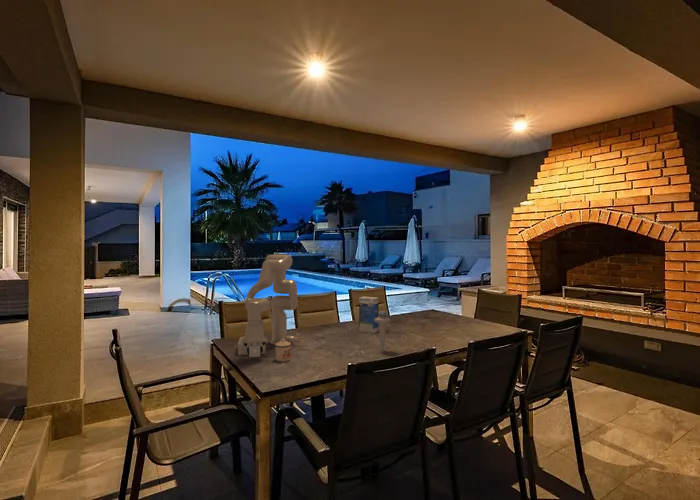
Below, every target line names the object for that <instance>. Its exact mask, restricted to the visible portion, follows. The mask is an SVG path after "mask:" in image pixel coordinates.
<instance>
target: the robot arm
mask: <svg viewBox="0 0 700 500" xmlns="http://www.w3.org/2000/svg"><path fill="white" fill-rule="evenodd" d="M292 265H293V258H292V256H291V255H290V254H268V255H266V257H265V260H264V261H263V262H262V266H261V270H260V274H259V277H258V281H257V282H256V283H255V284H253V285H252V286H251V288H250V289H249V290H248V292H247V295H246V298H245V304H244V305H245V309H246V310H247V324H246V325H245V326H246V327H245V335H246V336H245V337H244V336H243V337H244V338H243V339H242V340H241V343H242V344H244V345H245V346H246V347H247V353H248V355H247V356H249V345H250V343H258V342H259V343H260V355H262V354H261V353H262V352H263V346H264V345H265V344H266V345H267V342H269V343H270V344H271V345H274V346H275V344H276V343H278V342H280V341H281V339H285V341H287V342H290V340H294V336H292V335H290V336H289V335H288V332H287V331H288V330H287V329H288V327H287V326H288V318H287V317H288V316H287V314H286V312H285V311H295V310H296V309H297V307H298V285H297V282H296V281H295V280H294V279H287V278H286V272H287V271H288V270H289V269H290V268H291V266H292ZM271 286H272V290H273V293H275V294H278V295H274V296H272V297H271V299H270V300H269V299H267V298H263V297H262V298H260V297H255V296H256V295H257V294H258V293H259V292H261V291H263V290H265V289H267V288H271ZM279 294H280V295H279ZM270 308H271V317H272V319H271V320H272V321H271V322H272V323H271V324H272V325H271V328H272V329H271V334H272V336H271V338H272V339H271V340H270V341H269V338H268V337H267V336H266V335H265V332H264V324H263V323H264V322H265V319H262V312H263V313H264V312H267V311H268V310H269V309H270ZM245 339H246V342H247V343H246V342H244V340H245ZM264 339H265V341H264V342H263V340H264ZM262 342H263V343H262Z"/></svg>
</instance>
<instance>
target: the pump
mask: <svg viewBox="0 0 700 500" xmlns="http://www.w3.org/2000/svg"><path fill="white" fill-rule="evenodd" d="M248 357H249V358H258V357H261V354H260V343H252V344H250V345H249V355H248Z"/></svg>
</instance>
